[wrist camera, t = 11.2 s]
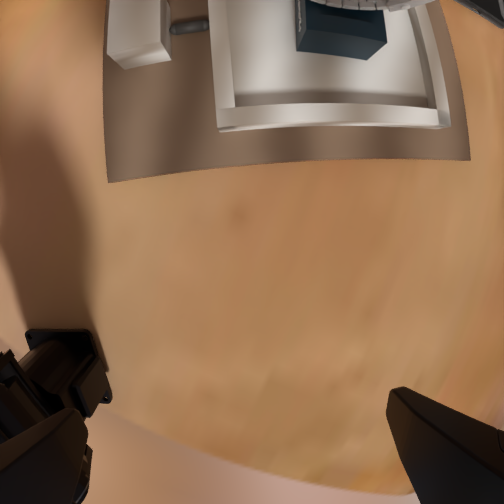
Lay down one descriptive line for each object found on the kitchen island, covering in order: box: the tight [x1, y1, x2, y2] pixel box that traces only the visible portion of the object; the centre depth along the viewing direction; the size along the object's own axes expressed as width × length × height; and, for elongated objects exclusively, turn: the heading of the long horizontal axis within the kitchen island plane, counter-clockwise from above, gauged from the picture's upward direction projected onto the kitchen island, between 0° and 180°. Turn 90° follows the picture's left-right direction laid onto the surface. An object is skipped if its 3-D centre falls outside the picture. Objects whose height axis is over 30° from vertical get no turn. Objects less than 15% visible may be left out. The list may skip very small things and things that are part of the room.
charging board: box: [103, 0, 471, 183], centre depth 15 cm, size 24×18×4 cm
